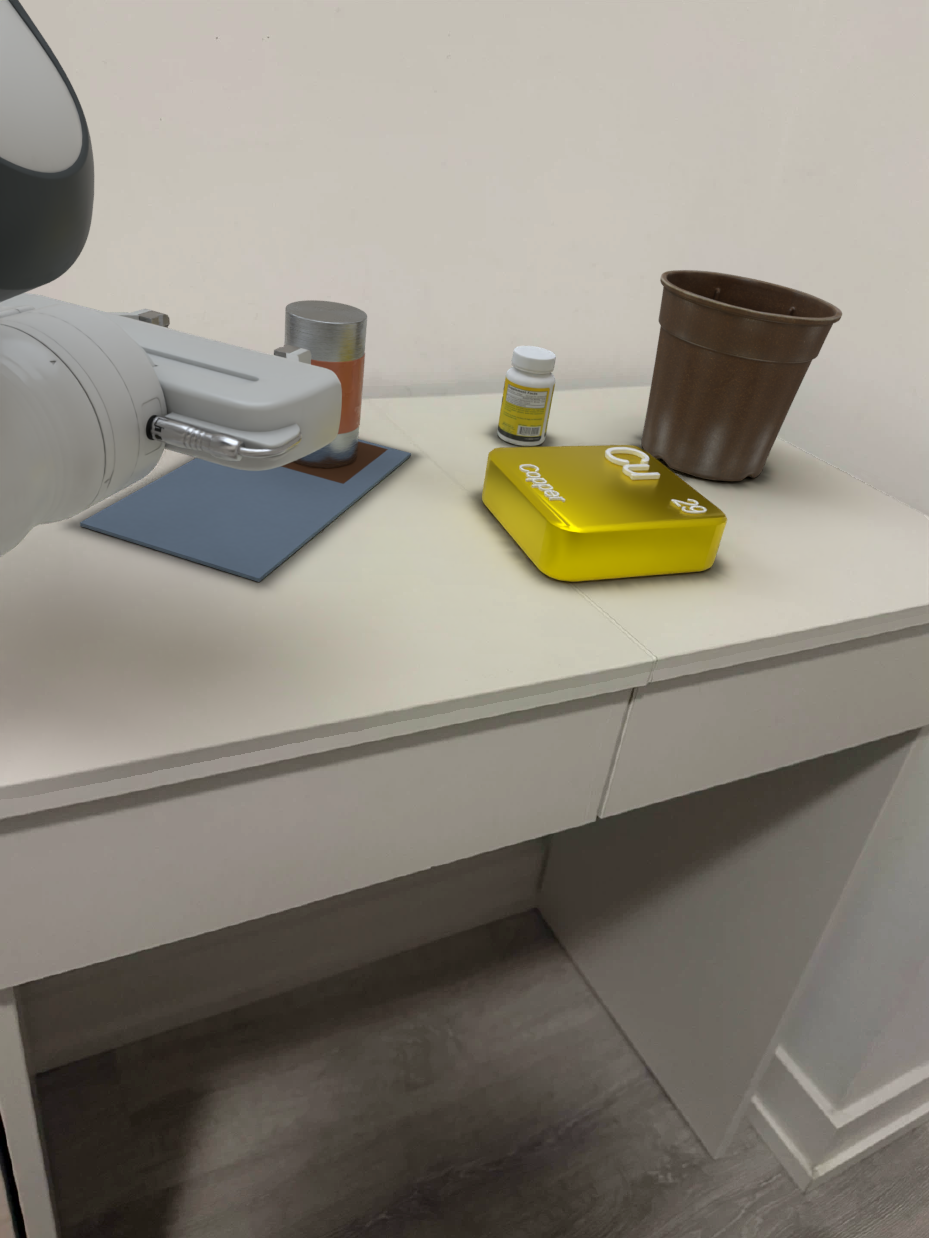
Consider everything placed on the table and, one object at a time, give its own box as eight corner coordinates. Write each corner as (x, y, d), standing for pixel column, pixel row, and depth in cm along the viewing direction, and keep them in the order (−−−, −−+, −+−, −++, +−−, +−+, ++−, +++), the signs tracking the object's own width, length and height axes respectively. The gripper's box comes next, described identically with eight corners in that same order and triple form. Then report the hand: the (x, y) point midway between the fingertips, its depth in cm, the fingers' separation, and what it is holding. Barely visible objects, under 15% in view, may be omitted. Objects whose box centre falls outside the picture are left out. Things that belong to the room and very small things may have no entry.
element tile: (473, 494, 76) (481, 440, 73) (627, 488, 81) (640, 437, 79) (549, 586, 64) (562, 525, 62) (723, 571, 70) (741, 515, 67)
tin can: (265, 454, 76) (268, 309, 70) (306, 433, 82) (312, 295, 75) (333, 475, 75) (342, 328, 68) (370, 452, 80) (382, 313, 73)
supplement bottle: (513, 425, 91) (527, 341, 87) (553, 440, 89) (570, 355, 85) (486, 435, 88) (500, 349, 83) (527, 451, 86) (543, 363, 81)
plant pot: (756, 437, 98) (806, 283, 90) (808, 501, 84) (872, 327, 76) (609, 419, 97) (645, 260, 88) (637, 482, 83) (684, 301, 74)
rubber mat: (80, 526, 63) (79, 522, 63) (271, 418, 84) (271, 415, 84) (259, 582, 60) (259, 578, 60) (410, 456, 81) (411, 453, 81)
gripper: (265, 395, 39) (394, 327, 50) (-119, 292, 43) (80, 251, 54) (262, 527, 42) (384, 436, 53) (-94, 419, 46) (89, 356, 58)
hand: (228, 342), depth 54 cm, fingers open, 8 cm apart
